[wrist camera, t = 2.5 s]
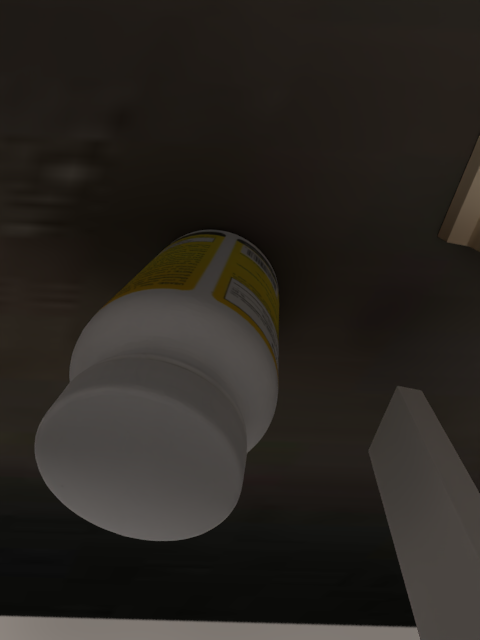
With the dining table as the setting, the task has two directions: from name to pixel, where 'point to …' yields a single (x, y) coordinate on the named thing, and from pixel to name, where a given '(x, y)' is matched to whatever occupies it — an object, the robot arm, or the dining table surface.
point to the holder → (465, 207)
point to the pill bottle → (168, 392)
